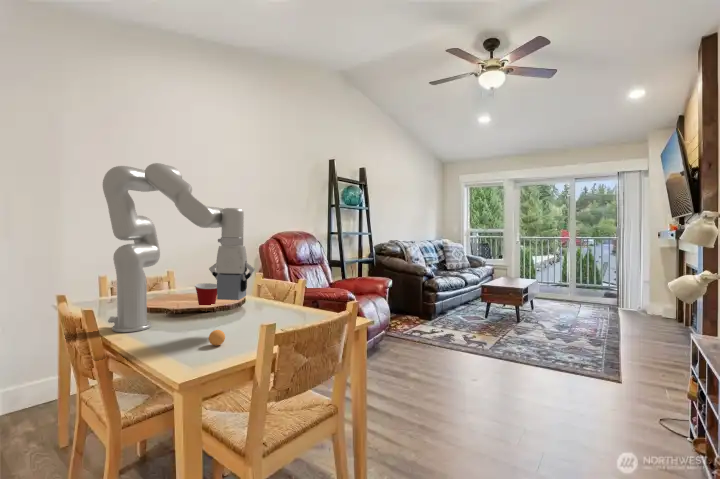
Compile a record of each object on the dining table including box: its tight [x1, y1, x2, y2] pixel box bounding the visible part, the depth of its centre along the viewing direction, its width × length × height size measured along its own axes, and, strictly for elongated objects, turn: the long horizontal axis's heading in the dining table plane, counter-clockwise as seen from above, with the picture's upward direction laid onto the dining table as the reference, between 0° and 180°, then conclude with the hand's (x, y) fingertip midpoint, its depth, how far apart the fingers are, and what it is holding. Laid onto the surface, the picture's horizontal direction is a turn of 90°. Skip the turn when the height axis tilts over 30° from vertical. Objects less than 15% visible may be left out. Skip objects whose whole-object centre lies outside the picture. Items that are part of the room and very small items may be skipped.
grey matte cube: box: [216, 271, 247, 301], centre depth 138 cm, size 8×8×9 cm
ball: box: [208, 329, 226, 347], centre depth 124 cm, size 5×5×5 cm
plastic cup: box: [194, 282, 217, 306], centre depth 172 cm, size 11×11×12 cm
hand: (231, 290), depth 138 cm, fingers closed on grey matte cube, 7 cm apart
